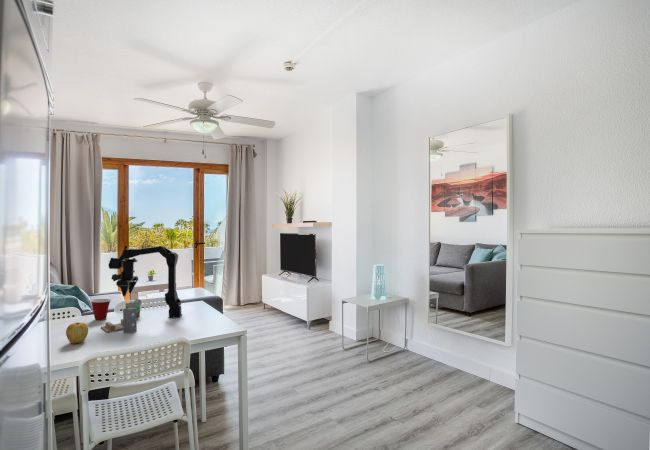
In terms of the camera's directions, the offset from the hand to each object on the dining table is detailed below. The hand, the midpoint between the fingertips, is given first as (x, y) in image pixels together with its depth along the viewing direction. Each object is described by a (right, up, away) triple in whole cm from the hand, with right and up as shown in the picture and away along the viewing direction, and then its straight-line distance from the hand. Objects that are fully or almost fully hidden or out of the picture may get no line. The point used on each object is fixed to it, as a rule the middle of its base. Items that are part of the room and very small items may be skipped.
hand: (127, 294), depth 226 cm
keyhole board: (+5, -15, -19) cm, 25 cm away
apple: (-1, -16, -44) cm, 46 cm away
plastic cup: (-15, -15, -2) cm, 21 cm away
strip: (+16, -15, -27) cm, 34 cm away
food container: (+4, -15, +3) cm, 15 cm away
